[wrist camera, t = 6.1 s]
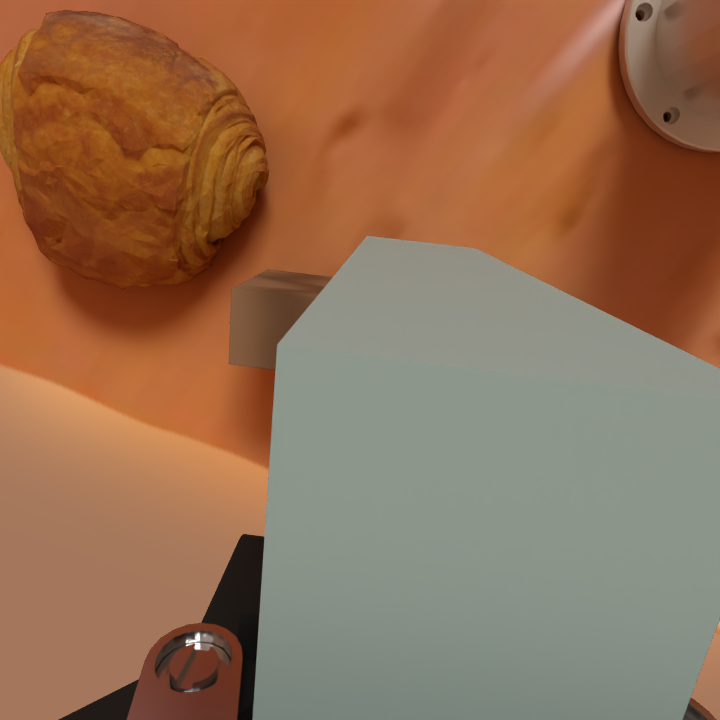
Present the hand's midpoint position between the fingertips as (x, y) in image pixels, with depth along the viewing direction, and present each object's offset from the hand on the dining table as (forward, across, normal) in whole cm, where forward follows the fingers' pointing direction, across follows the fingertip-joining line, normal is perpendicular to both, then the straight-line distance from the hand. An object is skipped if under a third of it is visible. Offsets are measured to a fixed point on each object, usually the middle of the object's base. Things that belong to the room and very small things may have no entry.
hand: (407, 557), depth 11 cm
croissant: (+25, +17, -8) cm, 31 cm away
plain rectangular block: (+10, 0, 0) cm, 10 cm away
